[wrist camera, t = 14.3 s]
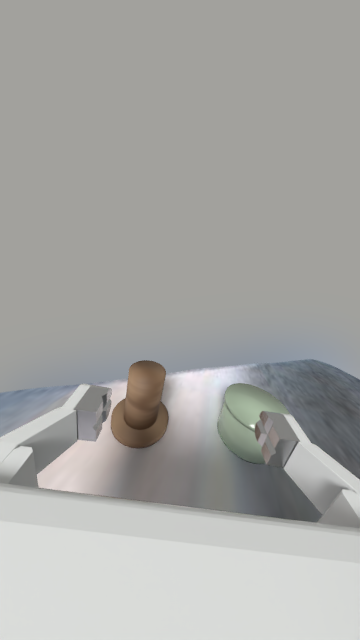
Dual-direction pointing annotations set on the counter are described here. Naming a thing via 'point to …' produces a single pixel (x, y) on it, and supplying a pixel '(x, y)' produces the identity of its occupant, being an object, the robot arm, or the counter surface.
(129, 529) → the robot arm
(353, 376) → the counter surface
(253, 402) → the canister
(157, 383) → the lid
